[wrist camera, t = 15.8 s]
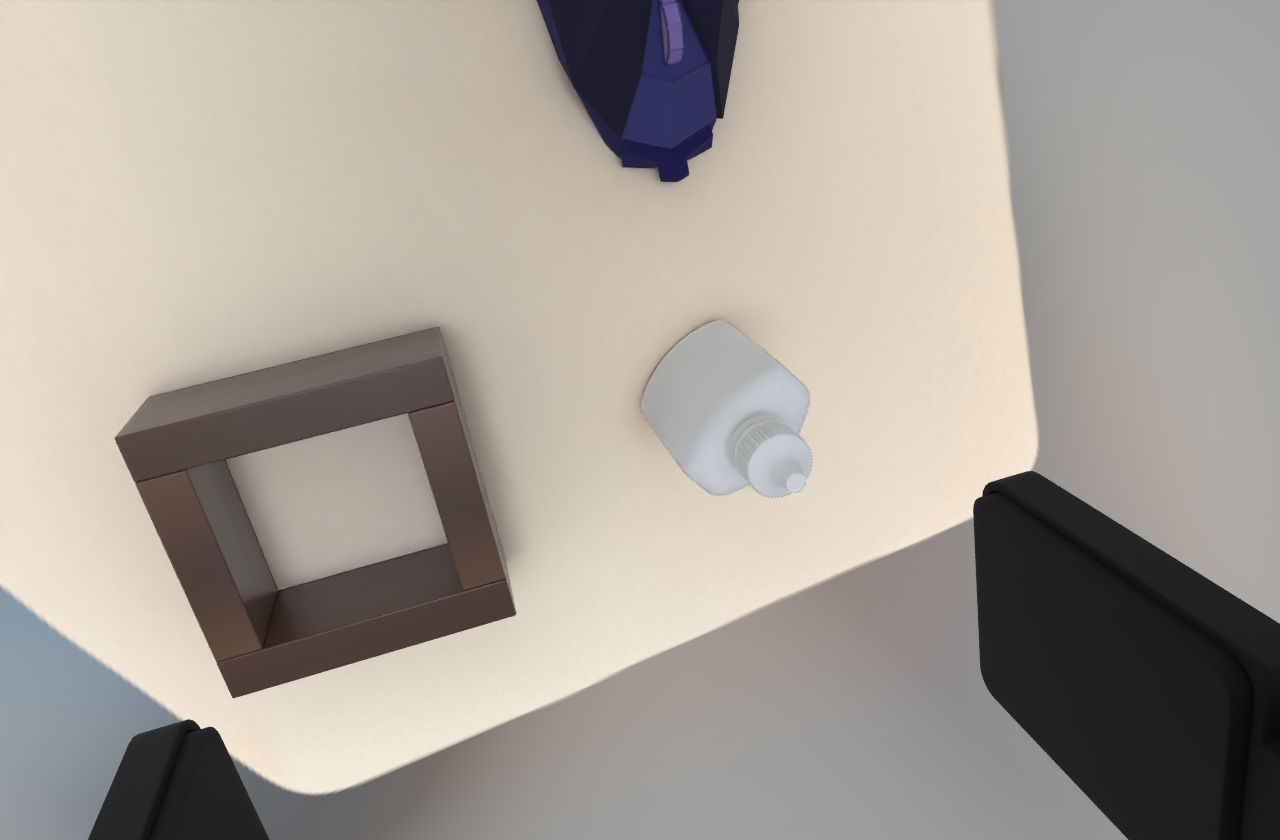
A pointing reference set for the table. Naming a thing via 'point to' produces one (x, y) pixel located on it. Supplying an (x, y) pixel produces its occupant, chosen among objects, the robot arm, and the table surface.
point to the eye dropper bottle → (730, 413)
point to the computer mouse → (648, 73)
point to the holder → (229, 551)
